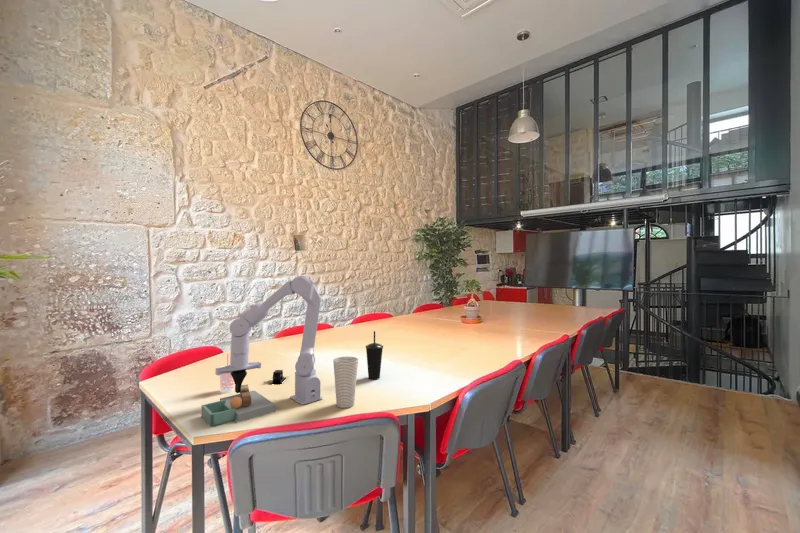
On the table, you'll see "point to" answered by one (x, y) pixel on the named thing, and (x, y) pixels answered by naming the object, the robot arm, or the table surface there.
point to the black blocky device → (277, 377)
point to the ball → (236, 402)
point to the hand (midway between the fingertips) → (238, 392)
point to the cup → (345, 380)
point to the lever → (245, 395)
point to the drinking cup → (374, 359)
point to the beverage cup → (226, 381)
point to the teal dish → (218, 413)
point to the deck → (251, 406)
